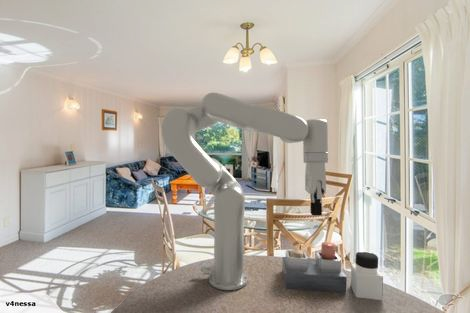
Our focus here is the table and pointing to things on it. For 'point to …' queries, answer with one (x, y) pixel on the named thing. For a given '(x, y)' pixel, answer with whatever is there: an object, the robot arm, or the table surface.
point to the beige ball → (296, 253)
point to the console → (313, 273)
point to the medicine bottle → (366, 276)
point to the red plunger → (328, 250)
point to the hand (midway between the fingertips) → (316, 214)
